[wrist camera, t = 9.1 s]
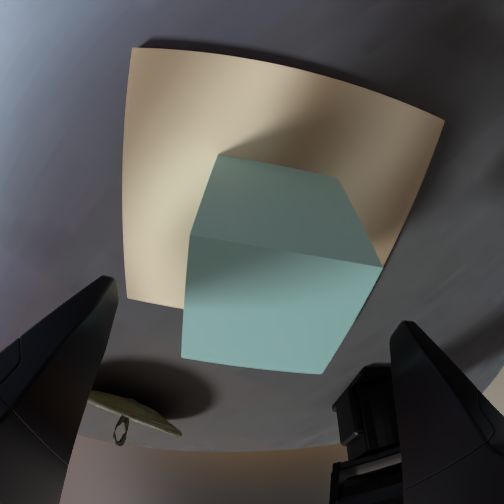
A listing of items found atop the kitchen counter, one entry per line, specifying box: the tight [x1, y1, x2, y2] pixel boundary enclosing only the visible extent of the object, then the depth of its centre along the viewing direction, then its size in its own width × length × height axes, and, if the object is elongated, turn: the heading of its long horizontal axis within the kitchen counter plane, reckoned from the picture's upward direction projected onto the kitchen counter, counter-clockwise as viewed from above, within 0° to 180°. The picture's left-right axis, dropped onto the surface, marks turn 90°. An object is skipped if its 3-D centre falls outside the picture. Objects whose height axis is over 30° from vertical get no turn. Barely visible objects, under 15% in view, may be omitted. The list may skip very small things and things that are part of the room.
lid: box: [87, 390, 182, 446], centre depth 23 cm, size 11×10×5 cm
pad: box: [122, 48, 445, 309], centre depth 14 cm, size 13×13×1 cm
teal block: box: [181, 154, 383, 374], centre depth 12 cm, size 5×5×6 cm
